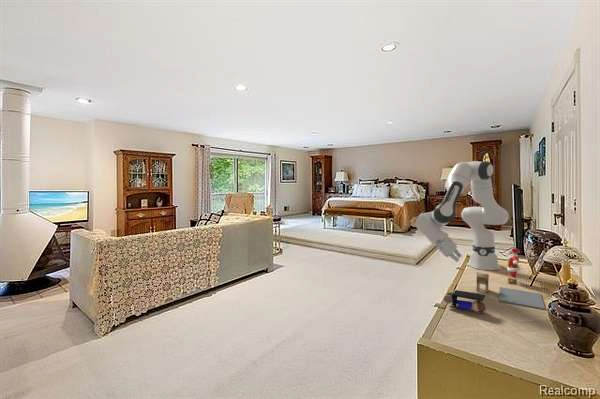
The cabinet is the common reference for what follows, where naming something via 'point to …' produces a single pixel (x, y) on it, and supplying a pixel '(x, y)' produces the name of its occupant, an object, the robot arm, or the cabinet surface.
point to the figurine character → (476, 305)
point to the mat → (521, 298)
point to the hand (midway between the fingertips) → (459, 258)
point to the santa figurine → (513, 265)
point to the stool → (482, 280)
